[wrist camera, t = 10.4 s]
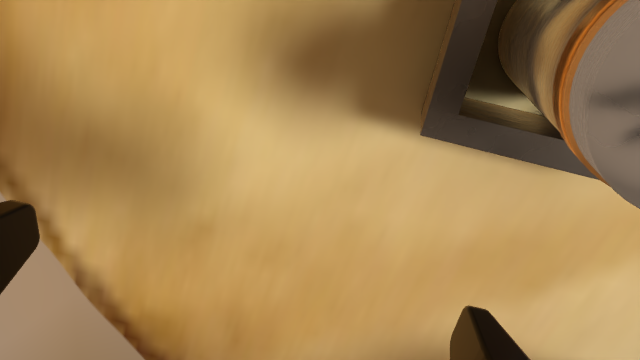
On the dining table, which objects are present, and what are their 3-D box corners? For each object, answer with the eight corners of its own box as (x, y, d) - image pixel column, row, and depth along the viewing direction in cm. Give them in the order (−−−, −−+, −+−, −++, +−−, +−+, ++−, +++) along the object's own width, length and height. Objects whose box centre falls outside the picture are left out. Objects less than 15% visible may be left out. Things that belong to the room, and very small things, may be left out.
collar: (747, -69, 16) (826, -82, 13) (621, 161, 20) (657, 194, 17) (489, -114, 17) (503, -136, 14) (421, 112, 21) (420, 135, 18)
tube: (655, -16, 17) (1038, -26, 6) (595, 110, 19) (805, 259, 9) (521, -41, 18) (665, -88, 7) (479, 84, 20) (538, 192, 9)
